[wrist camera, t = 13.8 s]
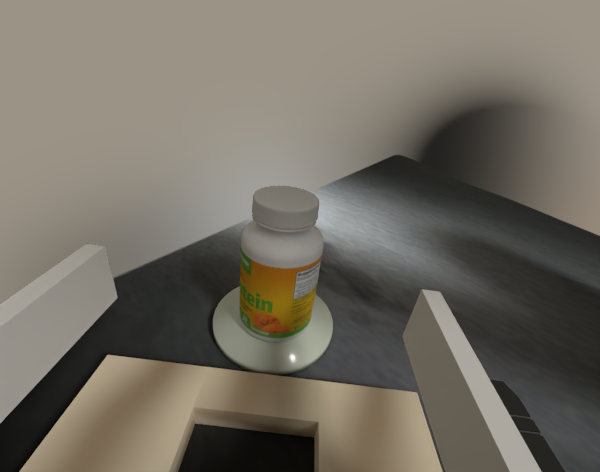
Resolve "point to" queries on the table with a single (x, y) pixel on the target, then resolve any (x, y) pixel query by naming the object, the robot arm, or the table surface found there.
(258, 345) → the pale green oval pebble
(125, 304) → the table surface
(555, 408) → the table surface
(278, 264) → the supplement bottle
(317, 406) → the socket plate
